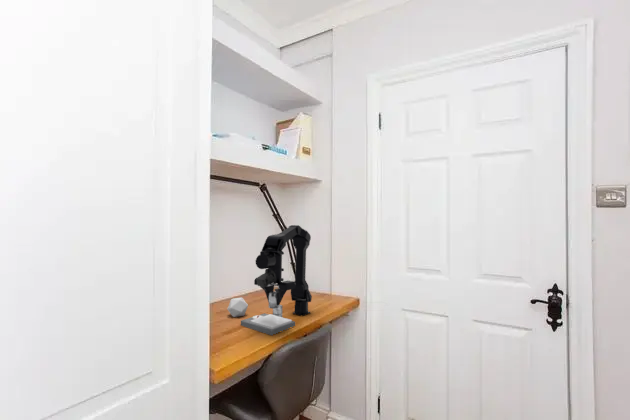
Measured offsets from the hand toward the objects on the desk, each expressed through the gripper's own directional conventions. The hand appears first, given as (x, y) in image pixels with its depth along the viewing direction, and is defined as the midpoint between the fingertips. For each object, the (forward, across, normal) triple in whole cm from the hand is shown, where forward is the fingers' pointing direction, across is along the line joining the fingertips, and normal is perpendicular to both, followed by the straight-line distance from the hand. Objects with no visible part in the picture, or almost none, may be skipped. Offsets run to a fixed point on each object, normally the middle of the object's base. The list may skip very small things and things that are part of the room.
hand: (273, 304), depth 136 cm
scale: (+11, -6, +3) cm, 13 cm away
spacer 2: (+11, -10, +13) cm, 19 cm away
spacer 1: (+1, 0, 0) cm, 1 cm away
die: (+11, -28, +4) cm, 30 cm away
